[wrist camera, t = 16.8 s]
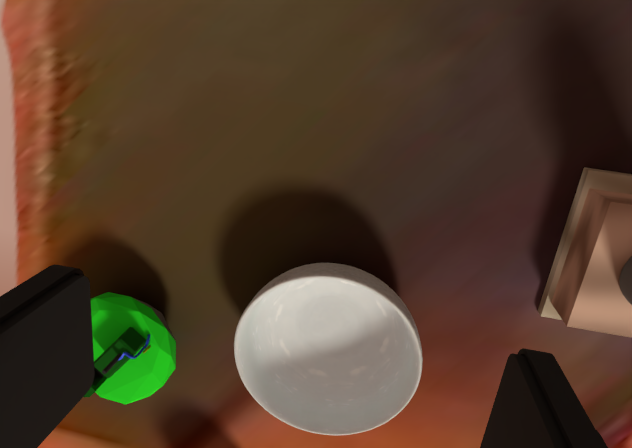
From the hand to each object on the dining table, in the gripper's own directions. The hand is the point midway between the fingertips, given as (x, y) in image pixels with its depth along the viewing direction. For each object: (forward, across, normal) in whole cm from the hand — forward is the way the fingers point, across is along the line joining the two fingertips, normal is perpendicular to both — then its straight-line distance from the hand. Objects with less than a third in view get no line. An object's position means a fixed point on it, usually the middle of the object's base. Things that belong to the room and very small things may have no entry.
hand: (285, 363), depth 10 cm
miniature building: (+34, +21, +24) cm, 46 cm away
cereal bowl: (+34, 0, +19) cm, 39 cm away
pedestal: (+33, -25, +7) cm, 42 cm away
